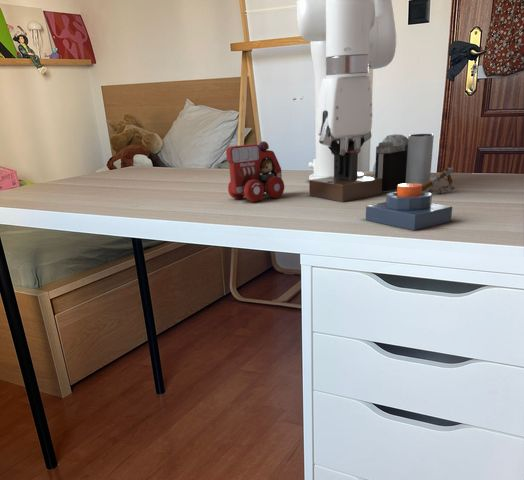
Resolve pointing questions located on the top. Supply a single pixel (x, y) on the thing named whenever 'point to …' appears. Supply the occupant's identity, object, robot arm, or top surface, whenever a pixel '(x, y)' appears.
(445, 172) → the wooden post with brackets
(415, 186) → the button
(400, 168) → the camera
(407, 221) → the button box
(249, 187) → the toy fire truck
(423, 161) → the grey hollow tube
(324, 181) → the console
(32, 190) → the top surface
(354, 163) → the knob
